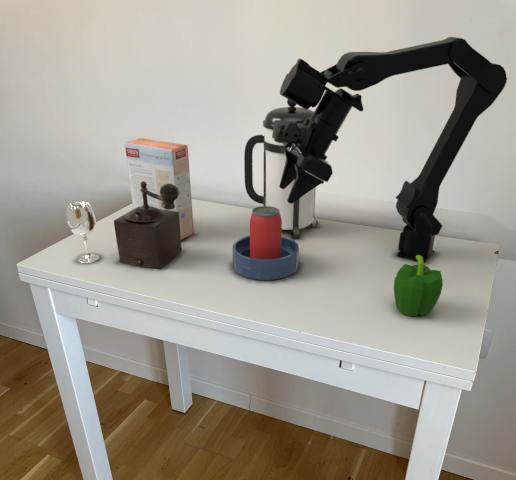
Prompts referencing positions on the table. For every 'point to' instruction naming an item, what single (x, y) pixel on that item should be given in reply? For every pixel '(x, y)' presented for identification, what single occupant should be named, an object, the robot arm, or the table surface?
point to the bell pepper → (417, 288)
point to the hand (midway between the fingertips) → (285, 195)
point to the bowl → (265, 260)
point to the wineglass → (82, 225)
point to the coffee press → (279, 172)
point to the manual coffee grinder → (150, 231)
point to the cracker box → (161, 176)
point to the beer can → (265, 233)
